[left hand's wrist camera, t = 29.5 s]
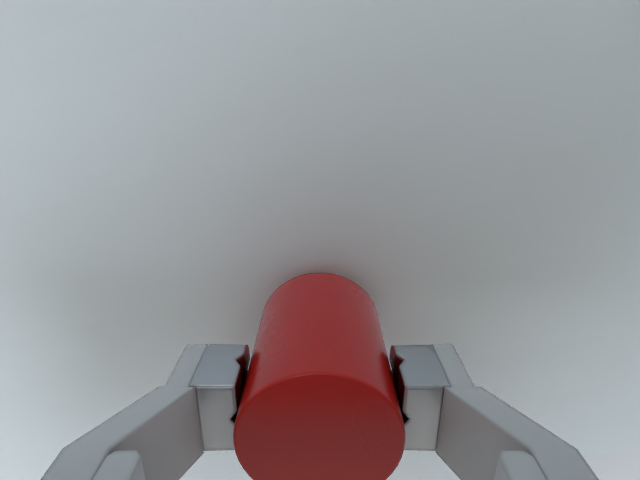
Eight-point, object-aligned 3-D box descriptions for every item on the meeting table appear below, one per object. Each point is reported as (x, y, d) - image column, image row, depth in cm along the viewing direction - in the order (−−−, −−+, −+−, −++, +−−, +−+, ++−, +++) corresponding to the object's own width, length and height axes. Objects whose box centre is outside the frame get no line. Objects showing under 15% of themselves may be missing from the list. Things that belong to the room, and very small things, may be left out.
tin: (389, 356, 13) (422, 485, 9) (283, 382, 13) (266, 519, 9) (360, 258, 12) (382, 352, 8) (245, 289, 12) (205, 397, 8)
